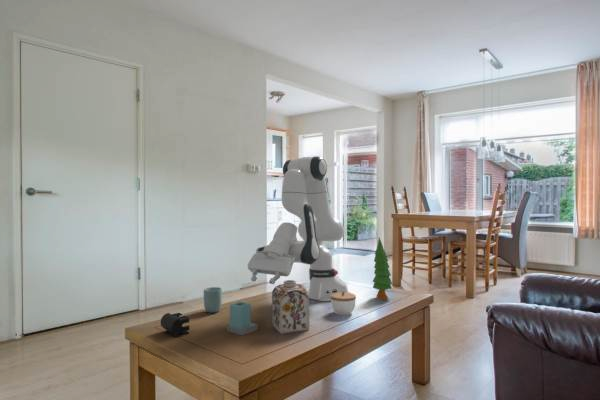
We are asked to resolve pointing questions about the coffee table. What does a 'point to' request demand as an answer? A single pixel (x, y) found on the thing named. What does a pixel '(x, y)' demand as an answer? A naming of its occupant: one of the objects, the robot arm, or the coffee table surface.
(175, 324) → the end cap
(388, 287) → the decorative tree
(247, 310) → the collar
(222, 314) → the coffee table surface
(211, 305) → the cup
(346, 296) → the lidded jar
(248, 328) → the shaft block
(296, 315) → the decorative jar
